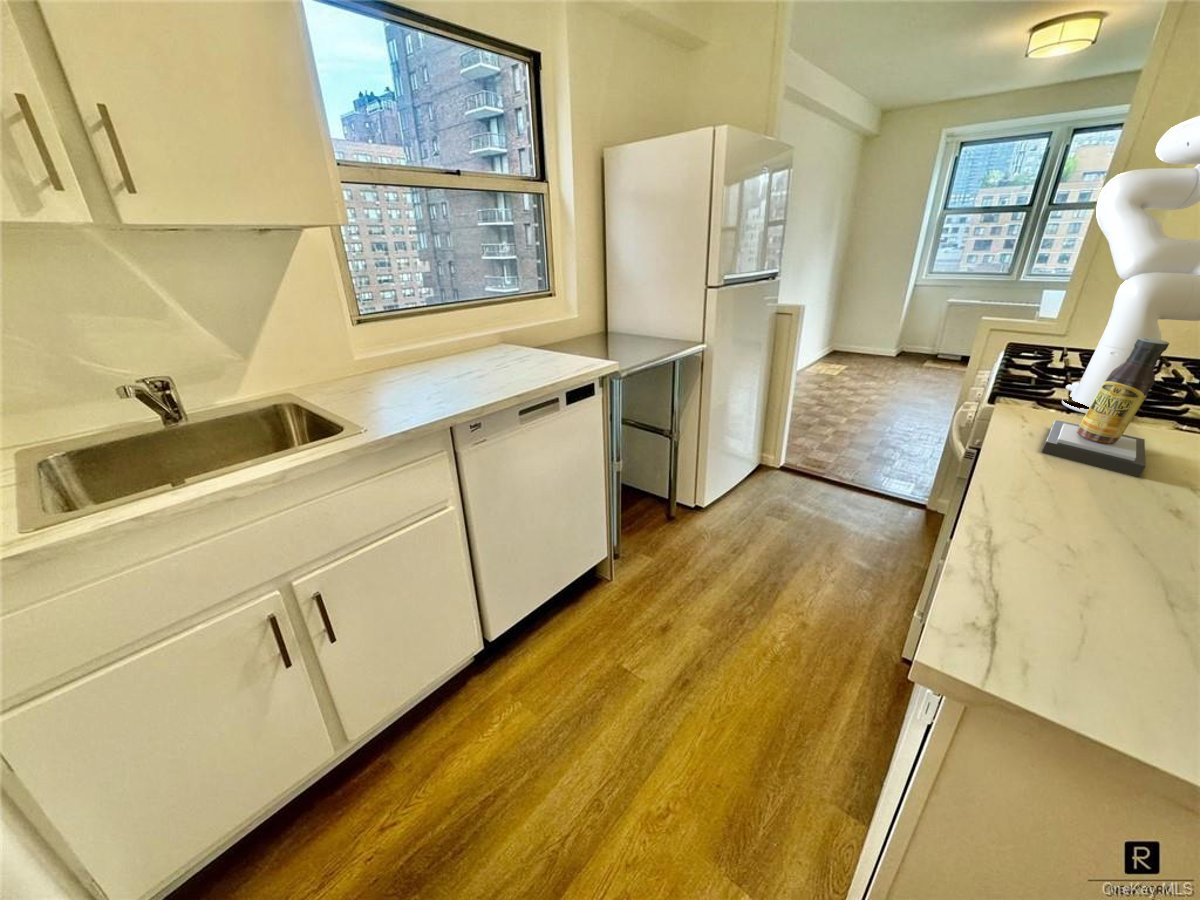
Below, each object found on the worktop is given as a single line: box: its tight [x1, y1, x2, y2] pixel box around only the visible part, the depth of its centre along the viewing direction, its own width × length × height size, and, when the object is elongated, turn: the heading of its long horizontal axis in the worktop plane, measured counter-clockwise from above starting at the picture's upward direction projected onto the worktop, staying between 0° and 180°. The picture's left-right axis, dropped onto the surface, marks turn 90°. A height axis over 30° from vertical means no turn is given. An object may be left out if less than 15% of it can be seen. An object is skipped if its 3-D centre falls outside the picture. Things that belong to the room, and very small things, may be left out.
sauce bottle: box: [1077, 338, 1170, 444], centre depth 91 cm, size 6×6×20 cm
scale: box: [1041, 419, 1146, 478], centre depth 97 cm, size 16×14×3 cm
